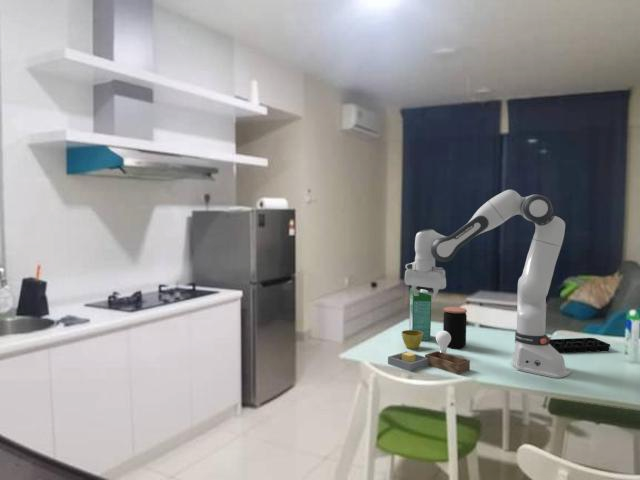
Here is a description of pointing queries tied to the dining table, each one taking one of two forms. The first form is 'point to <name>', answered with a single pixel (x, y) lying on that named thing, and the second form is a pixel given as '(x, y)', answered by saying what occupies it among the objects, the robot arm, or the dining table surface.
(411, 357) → the block
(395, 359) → the tub
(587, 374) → the dining table surface
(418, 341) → the flower pot
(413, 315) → the milk carton
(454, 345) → the coffee jar
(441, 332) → the light bulb
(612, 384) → the dining table surface
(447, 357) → the box
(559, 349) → the egg carton
